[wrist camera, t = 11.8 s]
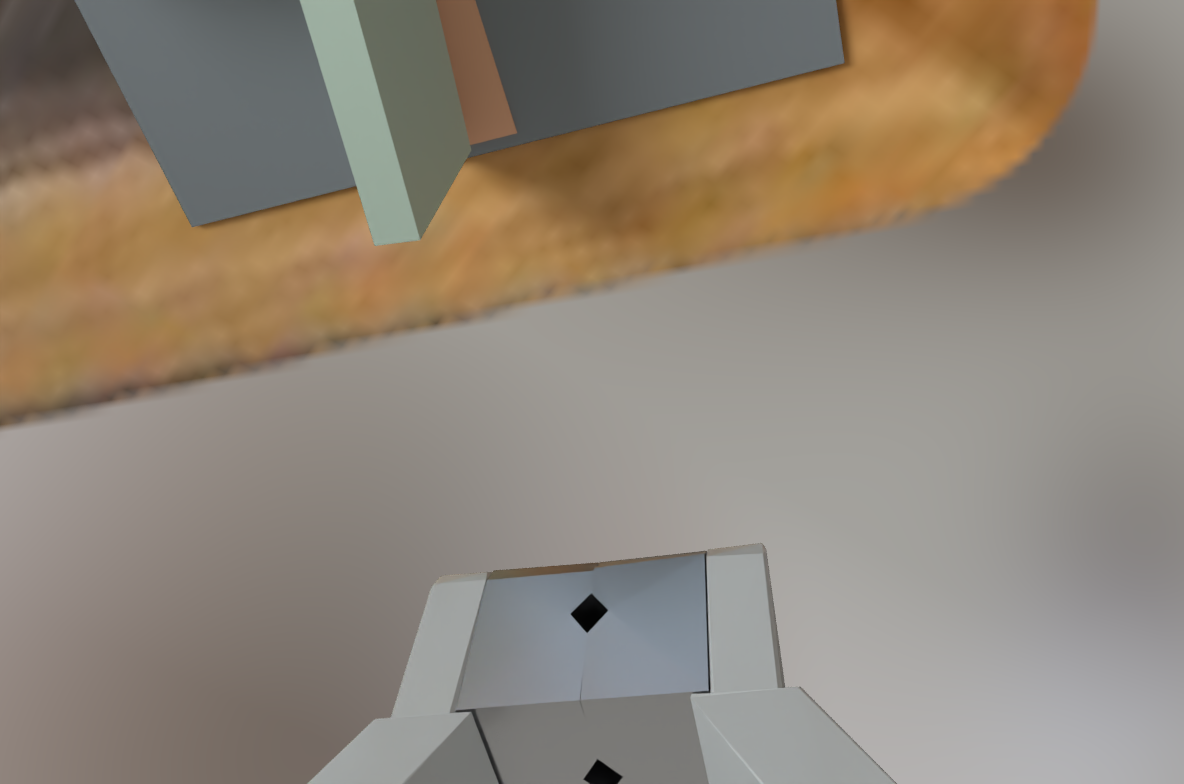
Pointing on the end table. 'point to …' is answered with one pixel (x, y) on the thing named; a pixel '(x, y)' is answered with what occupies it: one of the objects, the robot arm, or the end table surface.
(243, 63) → the card
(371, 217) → the fence gate
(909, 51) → the end table surface
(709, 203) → the end table surface
